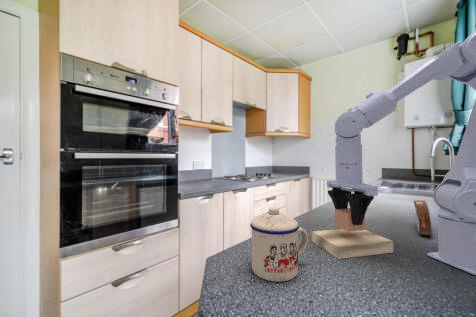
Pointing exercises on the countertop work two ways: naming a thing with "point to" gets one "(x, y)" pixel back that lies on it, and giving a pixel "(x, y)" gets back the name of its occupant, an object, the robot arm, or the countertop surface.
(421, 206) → the brown curved slab
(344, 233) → the base
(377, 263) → the countertop surface
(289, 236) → the teacup with lid
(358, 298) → the countertop surface
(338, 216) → the block
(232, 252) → the countertop surface
